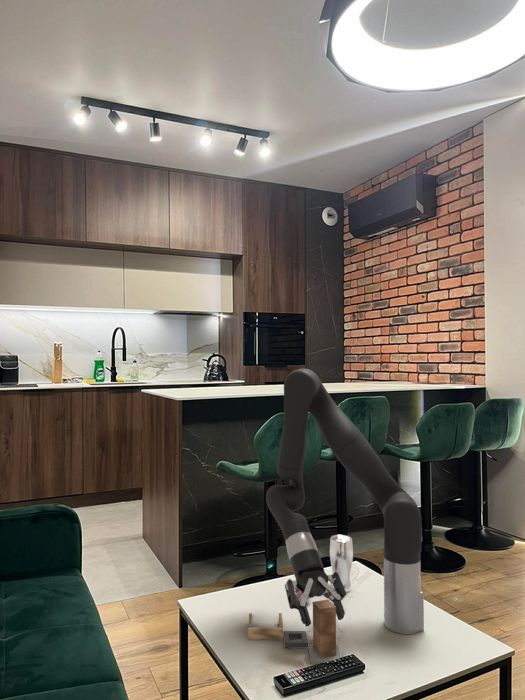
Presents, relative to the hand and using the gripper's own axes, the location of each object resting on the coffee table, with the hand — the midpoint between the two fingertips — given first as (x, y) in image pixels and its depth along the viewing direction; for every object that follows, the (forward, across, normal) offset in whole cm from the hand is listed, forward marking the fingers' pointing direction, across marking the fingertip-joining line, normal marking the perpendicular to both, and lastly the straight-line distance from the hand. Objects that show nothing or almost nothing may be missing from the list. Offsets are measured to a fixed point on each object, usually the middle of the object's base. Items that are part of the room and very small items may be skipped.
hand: (325, 621), depth 119 cm
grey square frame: (0, -4, +11) cm, 12 cm away
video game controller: (-15, +8, +26) cm, 32 cm away
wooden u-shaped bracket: (-6, -9, +17) cm, 20 cm away
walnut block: (+5, 0, +5) cm, 7 cm away
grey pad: (+5, 0, +6) cm, 8 cm away
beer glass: (-16, +22, +28) cm, 39 cm away
